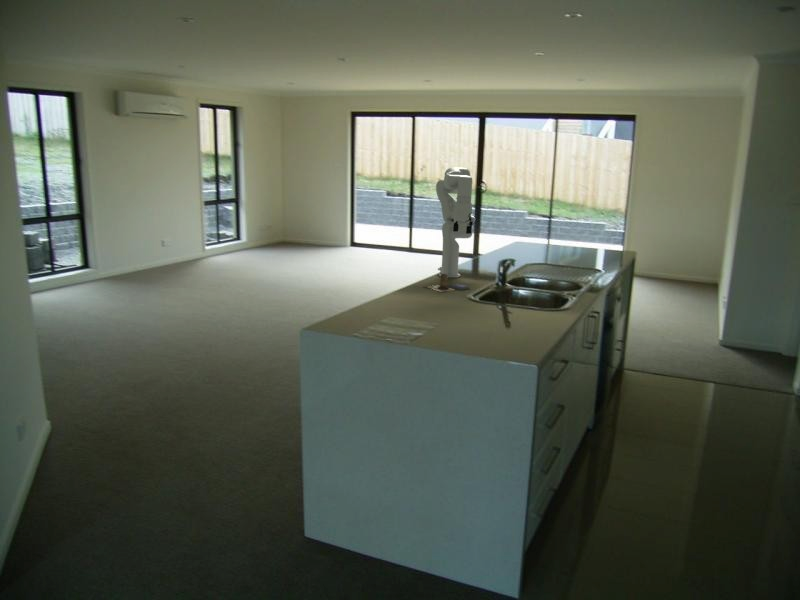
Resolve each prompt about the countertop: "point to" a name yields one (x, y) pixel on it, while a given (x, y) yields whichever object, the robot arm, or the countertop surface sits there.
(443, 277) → the stamp
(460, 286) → the ink pad
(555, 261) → the countertop surface
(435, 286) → the card sheet
